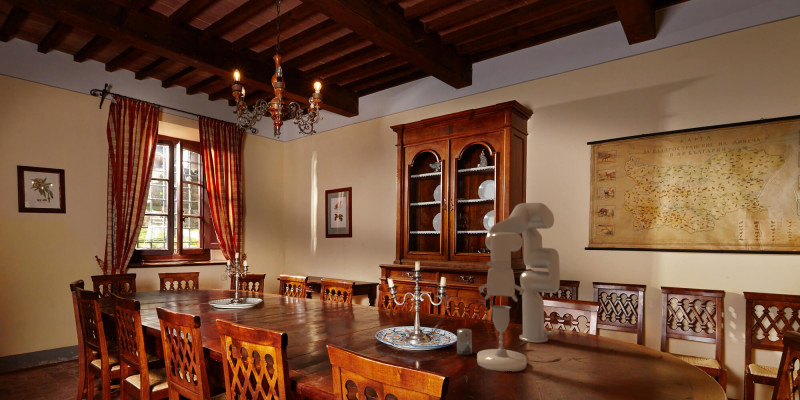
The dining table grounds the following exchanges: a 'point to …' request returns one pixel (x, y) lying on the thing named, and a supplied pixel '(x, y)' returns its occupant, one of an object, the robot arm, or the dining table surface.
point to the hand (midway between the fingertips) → (501, 310)
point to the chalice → (501, 325)
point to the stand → (501, 360)
